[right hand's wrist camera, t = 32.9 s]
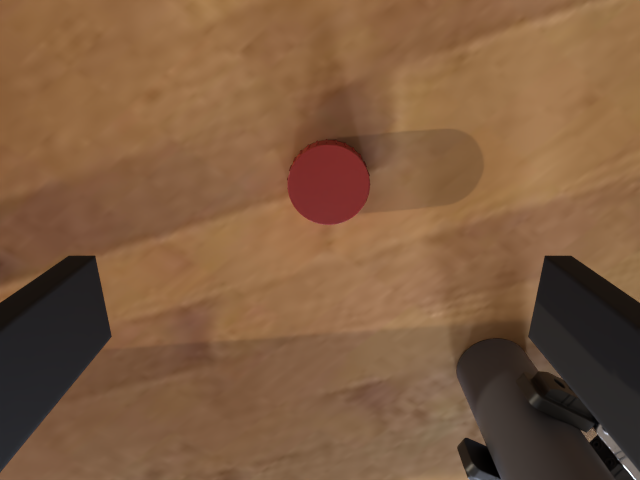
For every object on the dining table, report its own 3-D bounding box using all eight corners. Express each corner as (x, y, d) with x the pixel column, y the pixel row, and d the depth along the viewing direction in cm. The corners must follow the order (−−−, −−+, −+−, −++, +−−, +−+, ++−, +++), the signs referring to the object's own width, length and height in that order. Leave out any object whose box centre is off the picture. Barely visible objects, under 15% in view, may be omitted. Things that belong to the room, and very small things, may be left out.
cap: (379, 199, 25) (382, 207, 24) (308, 227, 26) (307, 237, 25) (350, 125, 24) (352, 129, 22) (275, 158, 25) (272, 164, 23)
